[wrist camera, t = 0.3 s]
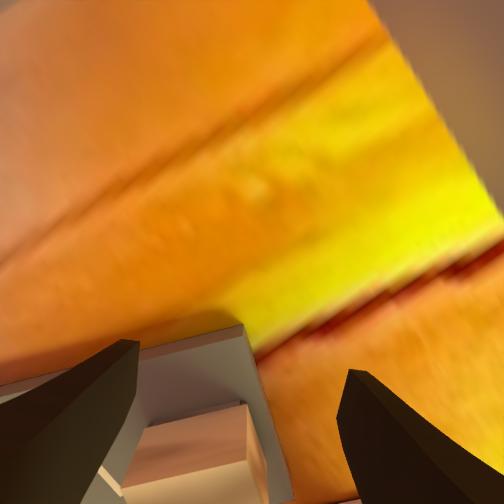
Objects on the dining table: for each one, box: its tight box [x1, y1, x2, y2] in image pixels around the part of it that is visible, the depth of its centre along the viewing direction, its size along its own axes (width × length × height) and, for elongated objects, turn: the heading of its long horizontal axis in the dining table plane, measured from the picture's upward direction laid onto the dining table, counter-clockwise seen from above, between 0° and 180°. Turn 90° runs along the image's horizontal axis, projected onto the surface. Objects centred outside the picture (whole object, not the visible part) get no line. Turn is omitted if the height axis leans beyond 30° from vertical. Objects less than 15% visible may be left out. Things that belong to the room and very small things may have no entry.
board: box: [0, 324, 295, 504], centre depth 22 cm, size 14×20×2 cm
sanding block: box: [120, 400, 269, 504], centre depth 19 cm, size 5×7×4 cm
